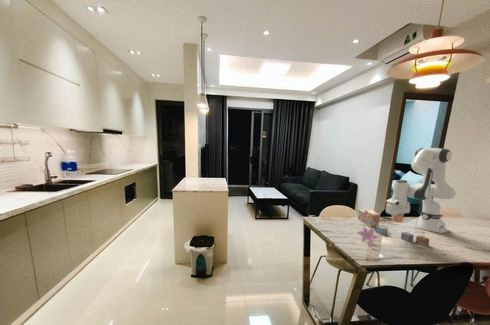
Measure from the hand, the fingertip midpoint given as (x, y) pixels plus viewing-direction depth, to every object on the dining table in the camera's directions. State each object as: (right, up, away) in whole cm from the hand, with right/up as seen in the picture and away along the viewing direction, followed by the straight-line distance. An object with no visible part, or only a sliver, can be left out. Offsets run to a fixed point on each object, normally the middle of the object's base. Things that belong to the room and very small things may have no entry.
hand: (397, 218), depth 151 cm
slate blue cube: (-7, -14, +7) cm, 17 cm away
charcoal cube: (+5, -15, -3) cm, 16 cm away
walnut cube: (+11, -16, -9) cm, 21 cm away
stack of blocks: (-6, -12, +26) cm, 30 cm away
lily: (-28, -14, -8) cm, 33 cm away
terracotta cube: (0, -2, 0) cm, 2 cm away
